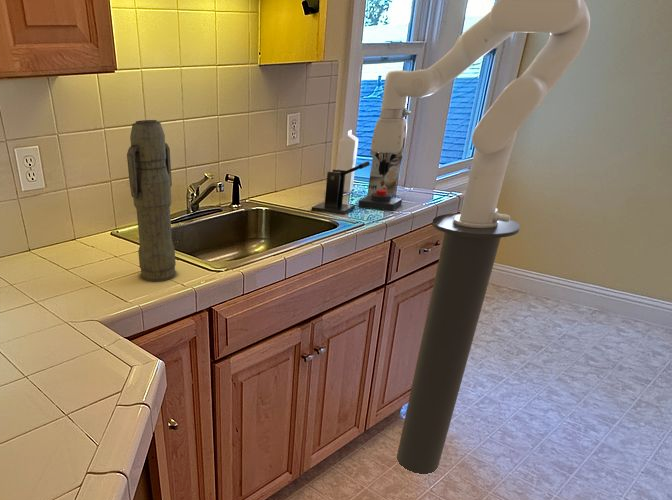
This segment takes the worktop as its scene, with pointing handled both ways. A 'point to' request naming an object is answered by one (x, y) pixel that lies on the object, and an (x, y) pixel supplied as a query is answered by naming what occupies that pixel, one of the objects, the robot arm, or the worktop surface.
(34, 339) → the worktop surface
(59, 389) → the worktop surface
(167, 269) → the grey stone statue
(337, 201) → the black lever stand
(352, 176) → the milk
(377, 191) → the setting button
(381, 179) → the coffee box
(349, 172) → the lever
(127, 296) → the worktop surface
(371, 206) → the control block
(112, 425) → the worktop surface
